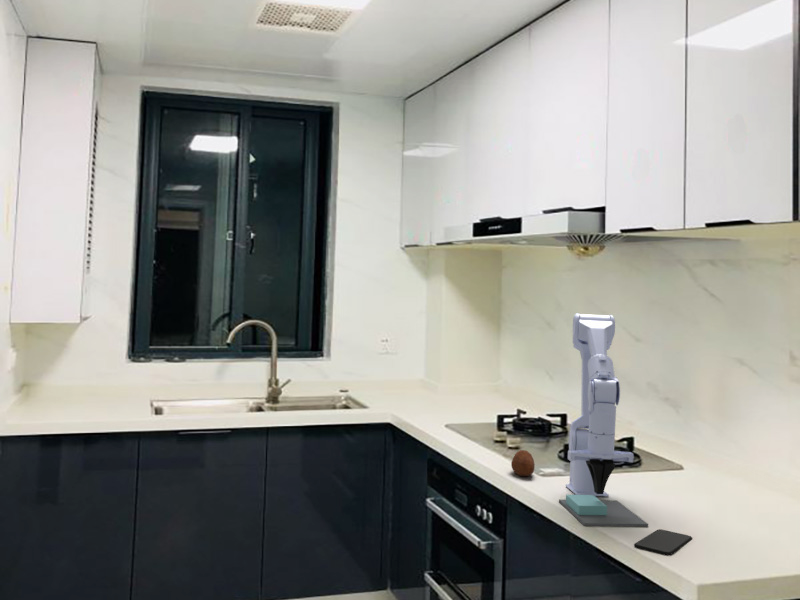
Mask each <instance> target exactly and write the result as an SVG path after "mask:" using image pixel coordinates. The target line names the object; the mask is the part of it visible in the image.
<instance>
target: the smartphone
mask: <svg viewBox="0 0 800 600" xmlns="http://www.w3.org/2000/svg"><path fill="white" fill-rule="evenodd" d="M692 540H693V537H692V536H691V535H688V534H683V533H678V532H675V531H672V530H671V531H669V530H666V529H660V528H659V529H657V530H655V531H653V532H652V533H650V534H648V535H646V536H645V537H643V538H641V539H639V541H637V542H635V543H634V544H633V546H634V548H636V549H638V550H641V551H642V550H643V551H646V552H651V553H654V554H659V555H663V556H668V555H670V556H672V555H674V554H675V553H677V552H678V551H679V550H680V549H682V548H683V547H684V546H685V545H687V543H689V542H691V541H692Z"/></svg>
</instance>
